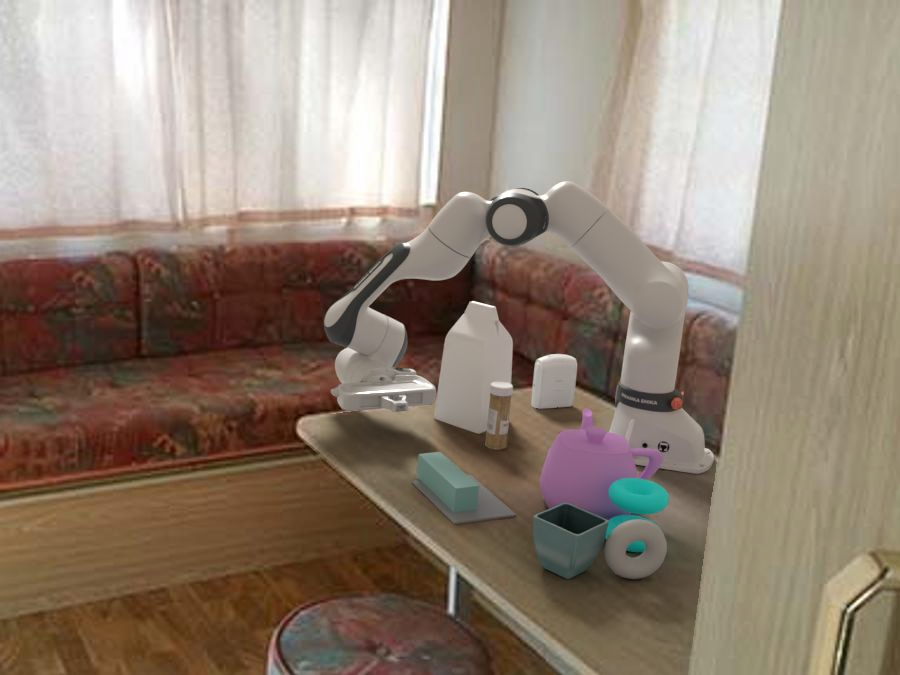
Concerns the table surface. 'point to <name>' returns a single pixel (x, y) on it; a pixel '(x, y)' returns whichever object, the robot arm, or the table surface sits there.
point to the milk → (472, 367)
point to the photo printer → (554, 381)
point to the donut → (628, 535)
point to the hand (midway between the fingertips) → (401, 407)
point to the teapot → (591, 468)
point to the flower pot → (568, 539)
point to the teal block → (447, 482)
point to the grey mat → (486, 510)
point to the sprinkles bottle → (498, 415)
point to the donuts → (636, 503)
